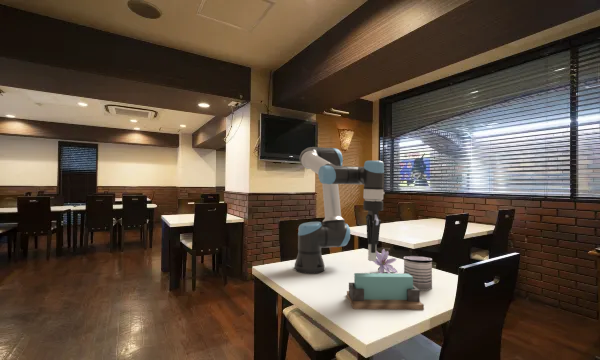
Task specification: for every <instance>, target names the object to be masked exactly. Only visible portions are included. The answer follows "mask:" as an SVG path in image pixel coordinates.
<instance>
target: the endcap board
mask: <svg viewBox="0 0 600 360" xmlns="http://www.w3.org/2000/svg"><path fill="white" fill-rule="evenodd" d="M420 291H421V290H419V289H418V288H416V287H415V286H414V285H413V289H407V300H364V289H355V288H354V282H348V290H346V296H347V299H348V301H349V303H350V305H351V307H352V309H355V310H357V309H358V310H424V309H425V307H424V306H425V305H424V303H422V302H421V300H420V299H421V297H420V293H421V292H420Z"/></svg>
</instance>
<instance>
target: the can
mask: <svg viewBox="0 0 600 360" xmlns="http://www.w3.org/2000/svg"><path fill="white" fill-rule="evenodd" d="M432 261H433V258H431V257H426V256H418V255H417V256H416V255H410V256H409V255H408V256H405V255H404V256H403V274H410V275H411V276H412V277H413V285H414V286H415V287H416V288H418V289H419V290H420V291H430V290H432V289H433V262H432Z"/></svg>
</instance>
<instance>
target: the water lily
mask: <svg viewBox="0 0 600 360" xmlns="http://www.w3.org/2000/svg"><path fill="white" fill-rule="evenodd" d="M372 262H373V263H374V264H375V265H377V266H378V273H384V272H385V271H386V273H391V272H392V273H397V274H399V272H398V270H397V269H396V268H395V267H394V266H393V265H392V264H394V263H395V262H397V258H393V257H392V258H391V257H390V258H389V251H388V250H387V251H386V250H385V248H383V249H382V250H381V253H379V251H378V250H376V261H372Z"/></svg>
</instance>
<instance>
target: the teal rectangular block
mask: <svg viewBox="0 0 600 360" xmlns="http://www.w3.org/2000/svg"><path fill="white" fill-rule="evenodd" d="M353 275H354V276H353V277H354V279H353V280H354V281H353V283H354V288H355V289H364V300H407V289H413V277H412V276H411V275H410V274H404V273H395V272H392V273H391V272H390V273H388V272H386V273H379V272H377V273H375V272H373V273H372V272H368V273H367V272H364V273H363V272H360V273H359V272H354V274H353Z"/></svg>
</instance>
